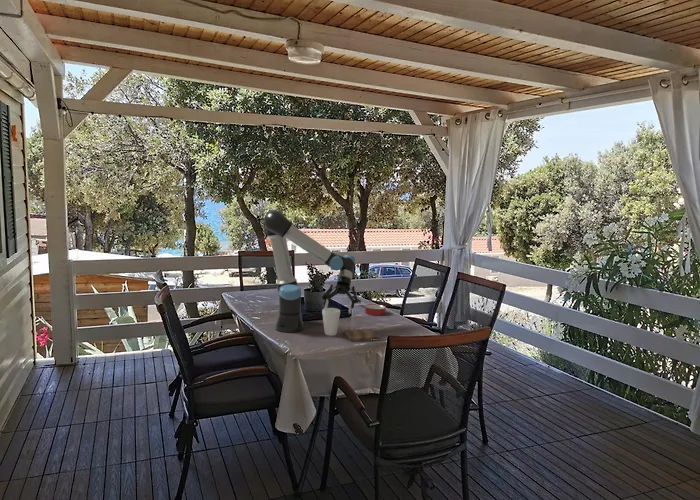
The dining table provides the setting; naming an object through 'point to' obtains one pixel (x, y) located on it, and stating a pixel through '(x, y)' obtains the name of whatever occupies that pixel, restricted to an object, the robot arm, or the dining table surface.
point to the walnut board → (361, 334)
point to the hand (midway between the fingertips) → (337, 311)
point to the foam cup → (330, 320)
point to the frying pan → (373, 308)
